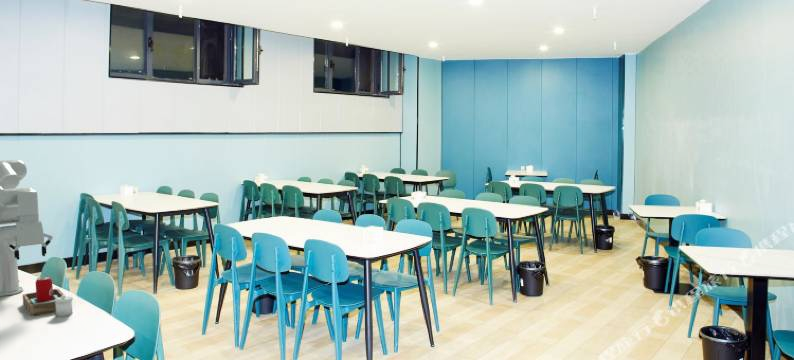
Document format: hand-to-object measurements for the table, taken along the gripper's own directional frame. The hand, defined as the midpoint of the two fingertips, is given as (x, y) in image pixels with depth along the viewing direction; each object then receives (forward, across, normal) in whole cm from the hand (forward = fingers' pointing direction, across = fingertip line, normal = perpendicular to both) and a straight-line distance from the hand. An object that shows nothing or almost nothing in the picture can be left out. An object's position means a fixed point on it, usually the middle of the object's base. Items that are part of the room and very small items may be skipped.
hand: (30, 257), depth 258 cm
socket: (+21, +4, -6) cm, 22 cm away
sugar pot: (+21, +7, -23) cm, 32 cm away
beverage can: (+21, +4, -6) cm, 22 cm away
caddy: (+21, +4, -6) cm, 22 cm away
